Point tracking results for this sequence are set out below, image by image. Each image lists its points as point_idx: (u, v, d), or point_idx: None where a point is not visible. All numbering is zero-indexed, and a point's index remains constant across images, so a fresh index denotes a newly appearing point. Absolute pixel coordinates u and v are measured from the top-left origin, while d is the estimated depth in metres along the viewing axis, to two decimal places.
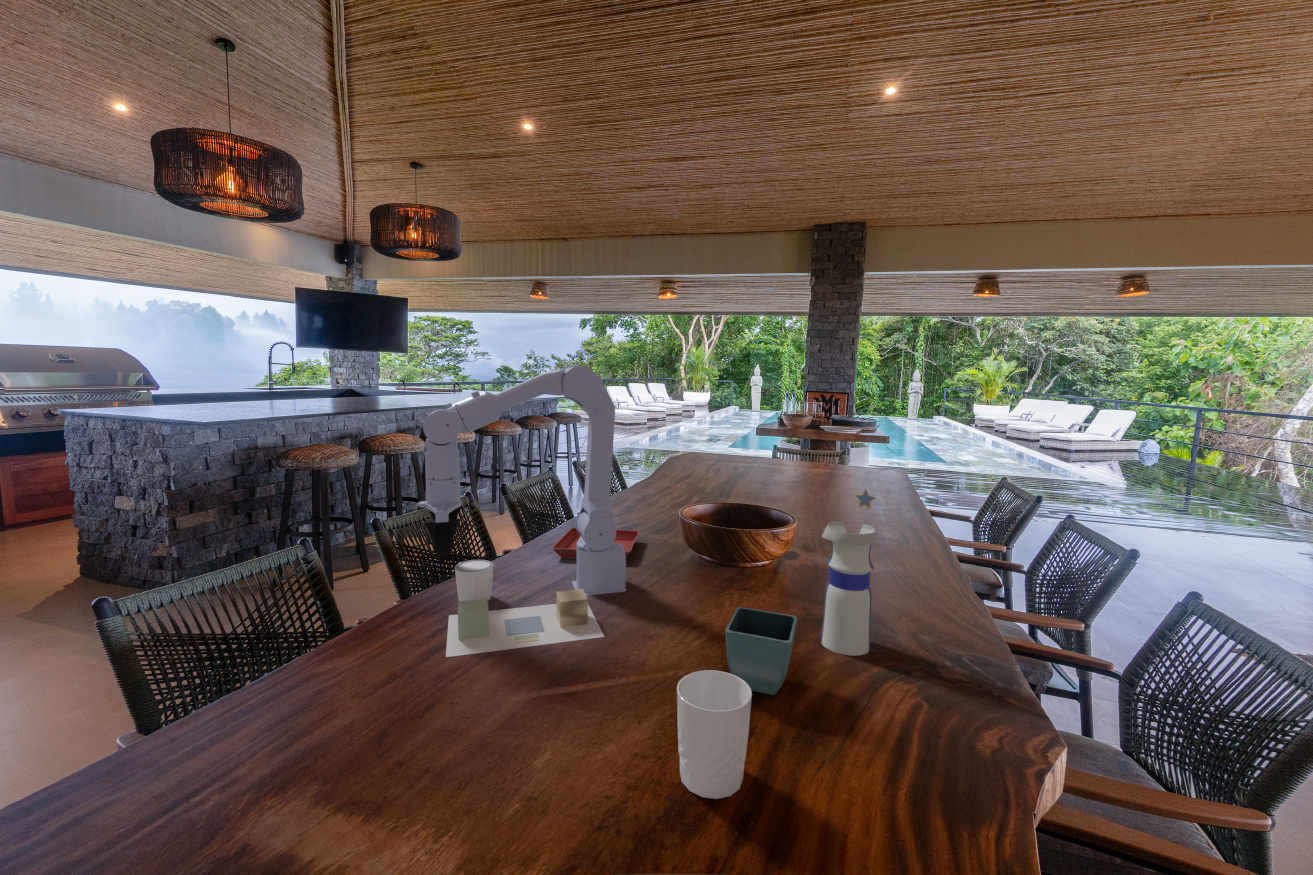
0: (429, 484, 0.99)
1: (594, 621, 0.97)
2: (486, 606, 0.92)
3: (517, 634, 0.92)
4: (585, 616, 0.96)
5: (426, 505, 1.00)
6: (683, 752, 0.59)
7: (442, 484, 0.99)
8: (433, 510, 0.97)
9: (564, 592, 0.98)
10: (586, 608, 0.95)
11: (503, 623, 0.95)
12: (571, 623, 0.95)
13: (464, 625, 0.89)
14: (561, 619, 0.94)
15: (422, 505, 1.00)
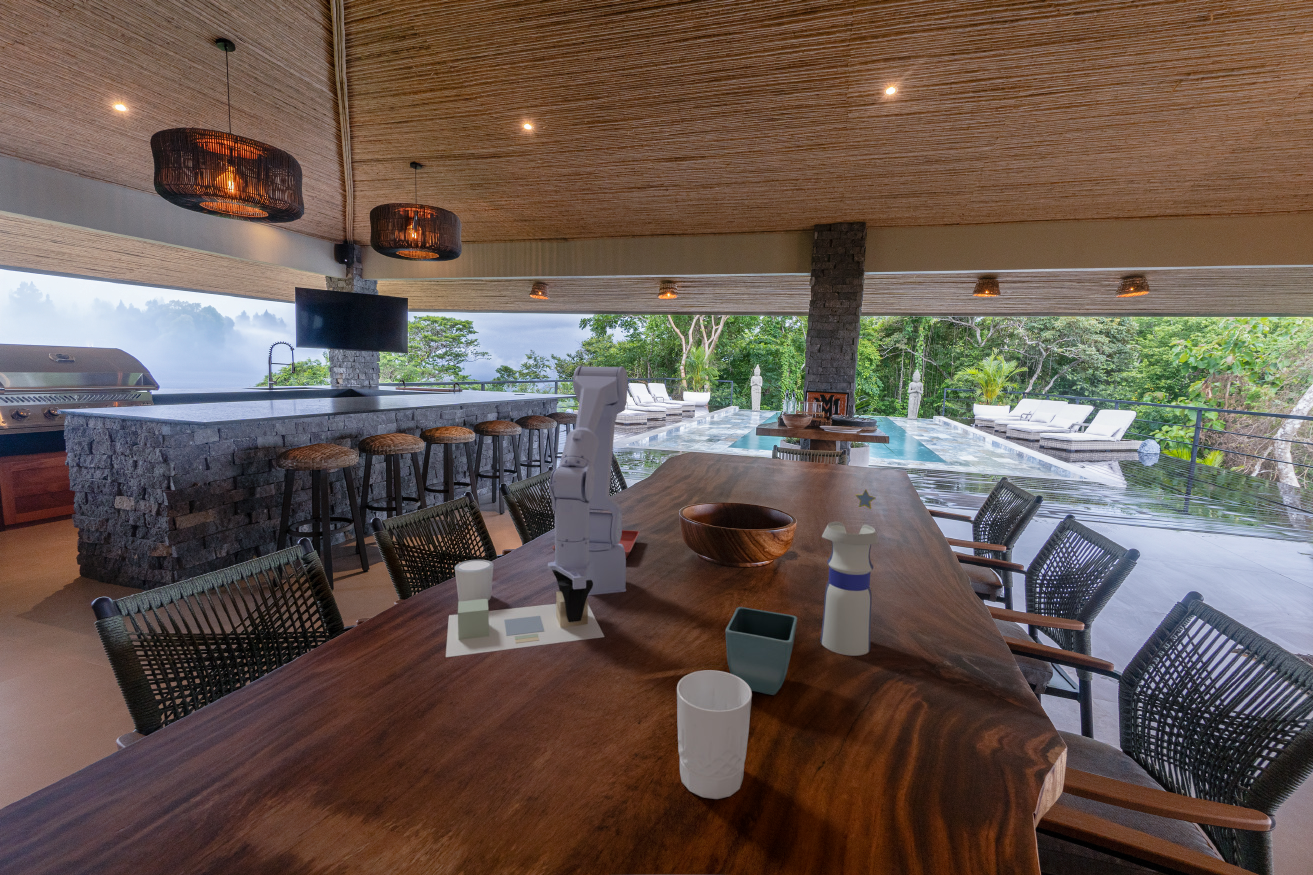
0: (560, 546, 0.93)
1: (594, 621, 0.97)
2: (486, 606, 0.92)
3: (517, 634, 0.92)
4: (585, 616, 0.96)
5: (556, 567, 0.94)
6: (683, 752, 0.59)
7: (575, 546, 0.93)
8: (568, 575, 0.91)
9: None
10: (586, 608, 0.95)
11: (503, 623, 0.95)
12: (571, 623, 0.95)
13: (464, 625, 0.89)
14: (561, 619, 0.94)
15: (552, 567, 0.94)
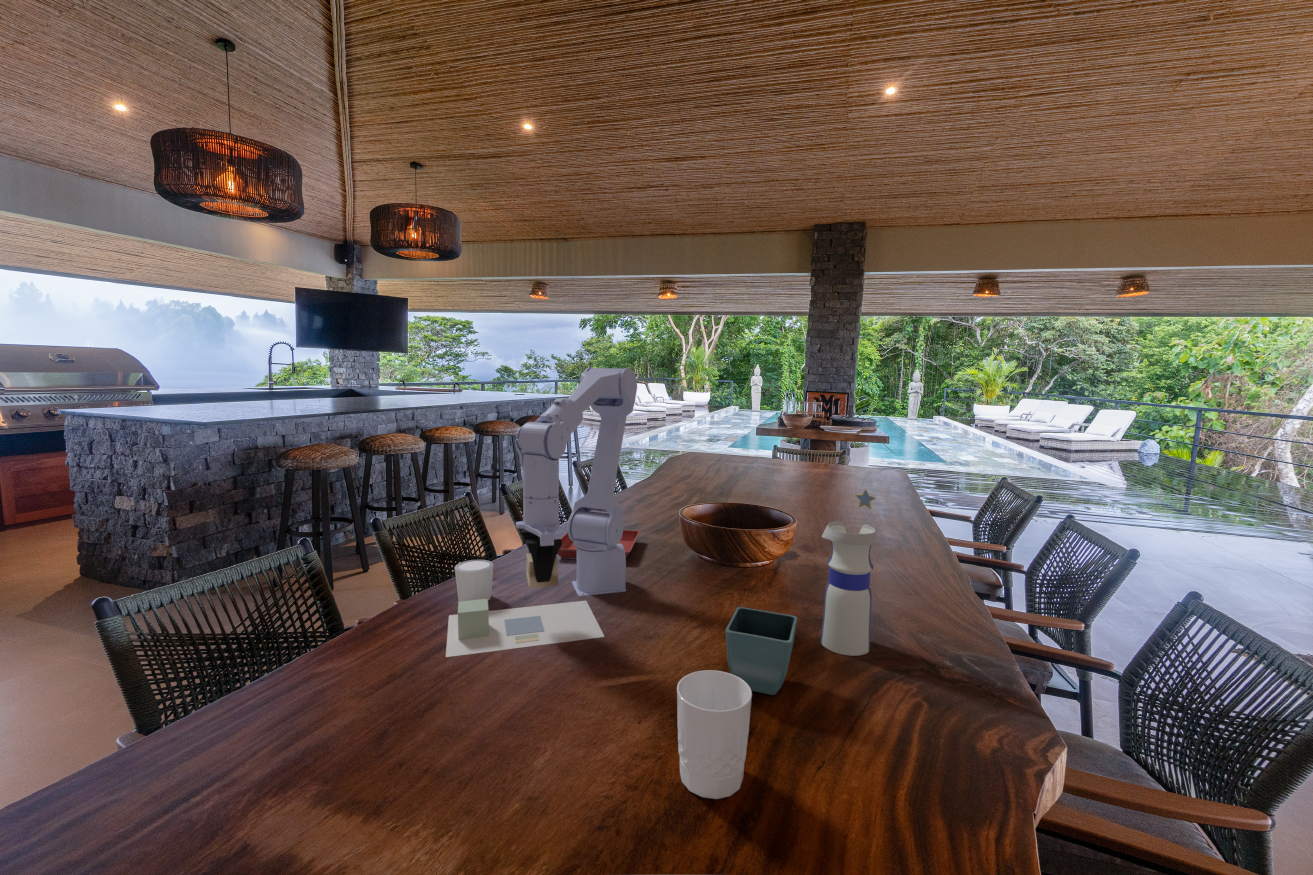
0: (529, 503, 0.91)
1: (594, 621, 0.97)
2: (486, 606, 0.92)
3: (517, 634, 0.92)
4: (555, 577, 0.93)
5: (525, 526, 0.91)
6: (683, 752, 0.59)
7: (543, 503, 0.91)
8: (536, 532, 0.88)
9: None
10: (556, 569, 0.93)
11: (503, 623, 0.95)
12: (541, 584, 0.92)
13: (464, 625, 0.89)
14: (530, 580, 0.92)
15: (520, 526, 0.92)
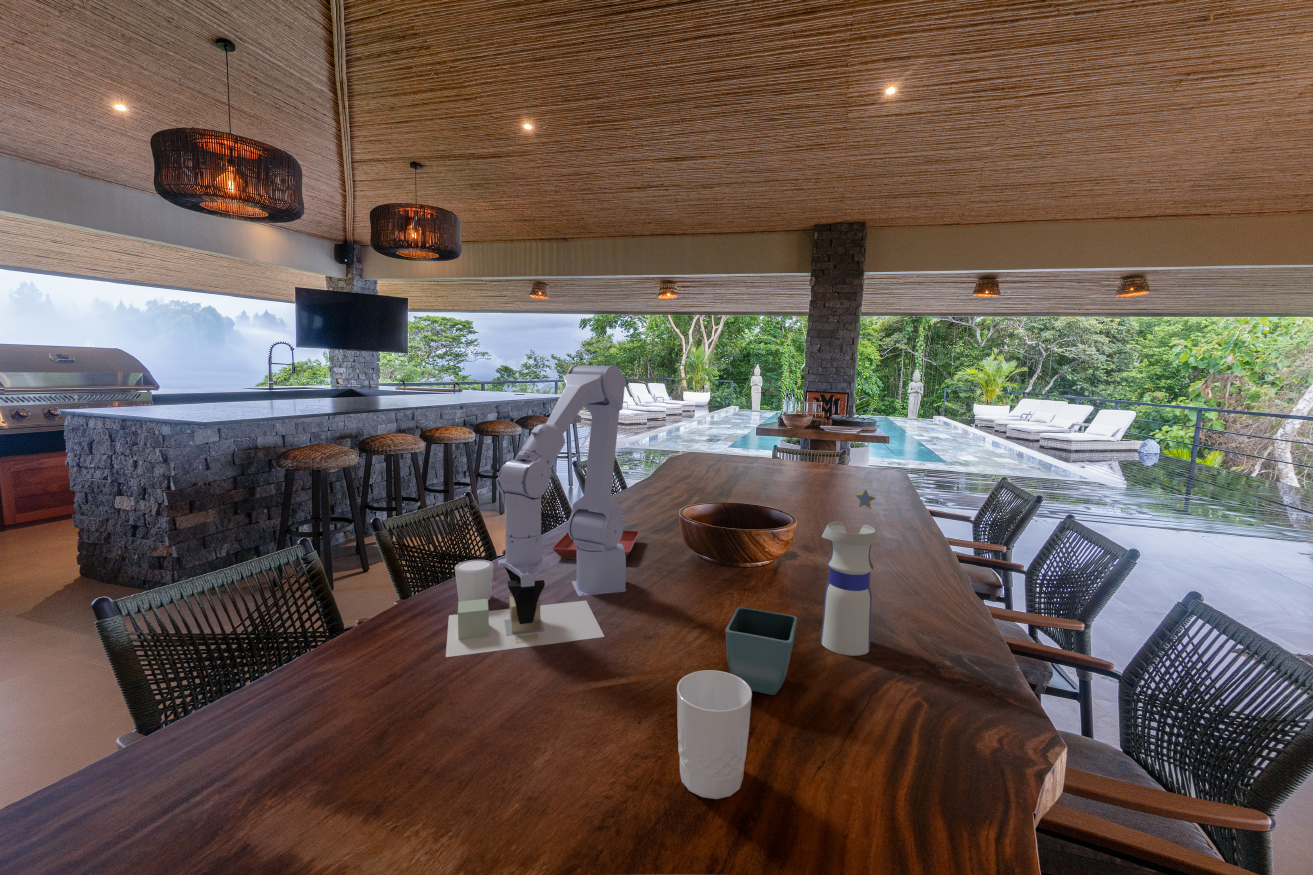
0: (510, 542, 0.91)
1: (594, 621, 0.97)
2: (486, 606, 0.92)
3: (517, 634, 0.92)
4: (537, 621, 0.93)
5: (506, 565, 0.91)
6: (683, 752, 0.59)
7: (525, 542, 0.90)
8: (517, 572, 0.88)
9: None
10: (538, 613, 0.93)
11: (503, 623, 0.95)
12: (523, 628, 0.93)
13: (464, 625, 0.89)
14: (512, 624, 0.92)
15: (502, 564, 0.91)
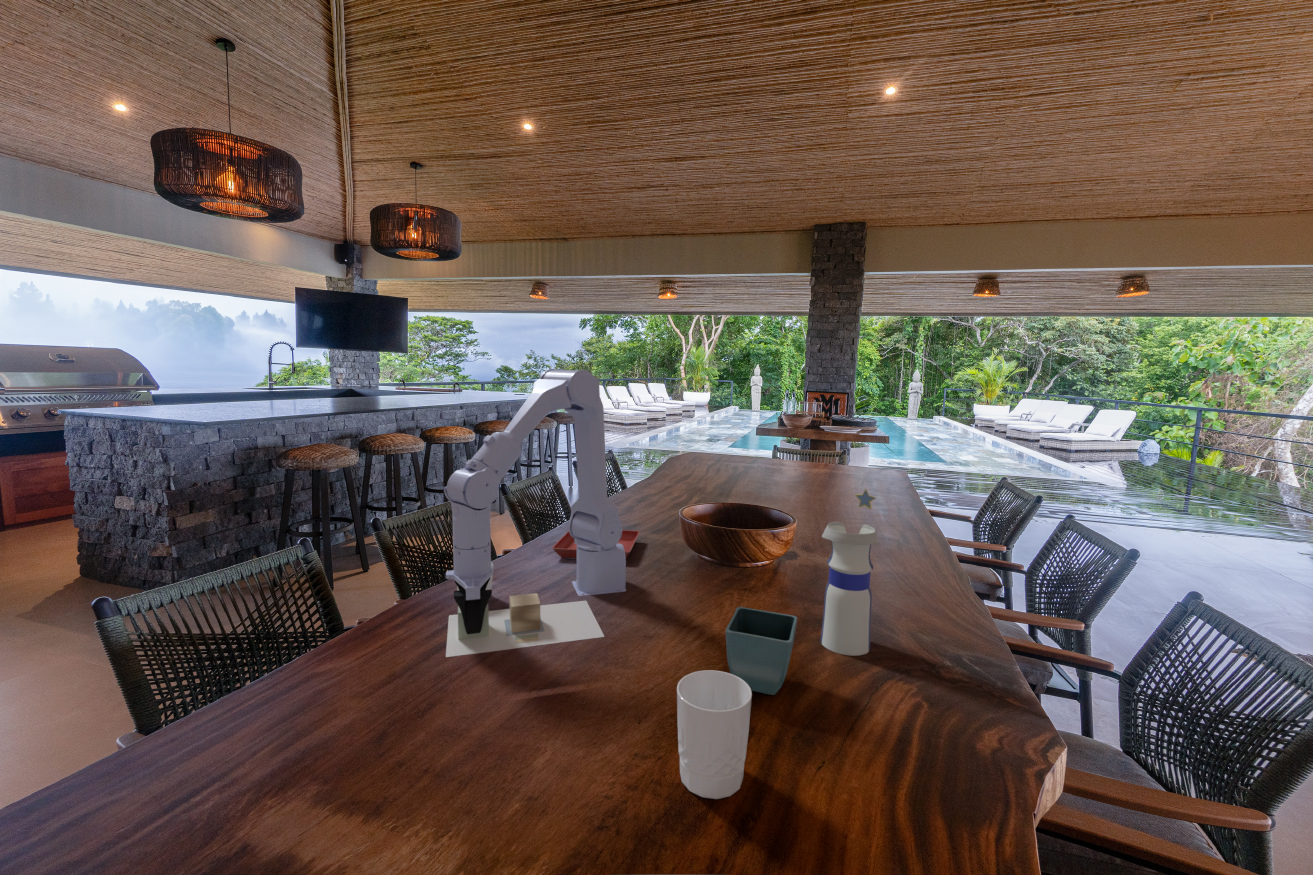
0: (457, 553, 0.88)
1: (594, 621, 0.97)
2: (486, 606, 0.92)
3: (517, 634, 0.92)
4: (537, 621, 0.93)
5: (454, 576, 0.89)
6: (683, 752, 0.59)
7: (472, 554, 0.88)
8: (463, 585, 0.86)
9: (517, 596, 0.96)
10: (538, 613, 0.93)
11: (503, 623, 0.95)
12: (523, 628, 0.93)
13: None
14: (512, 624, 0.92)
15: (449, 576, 0.89)
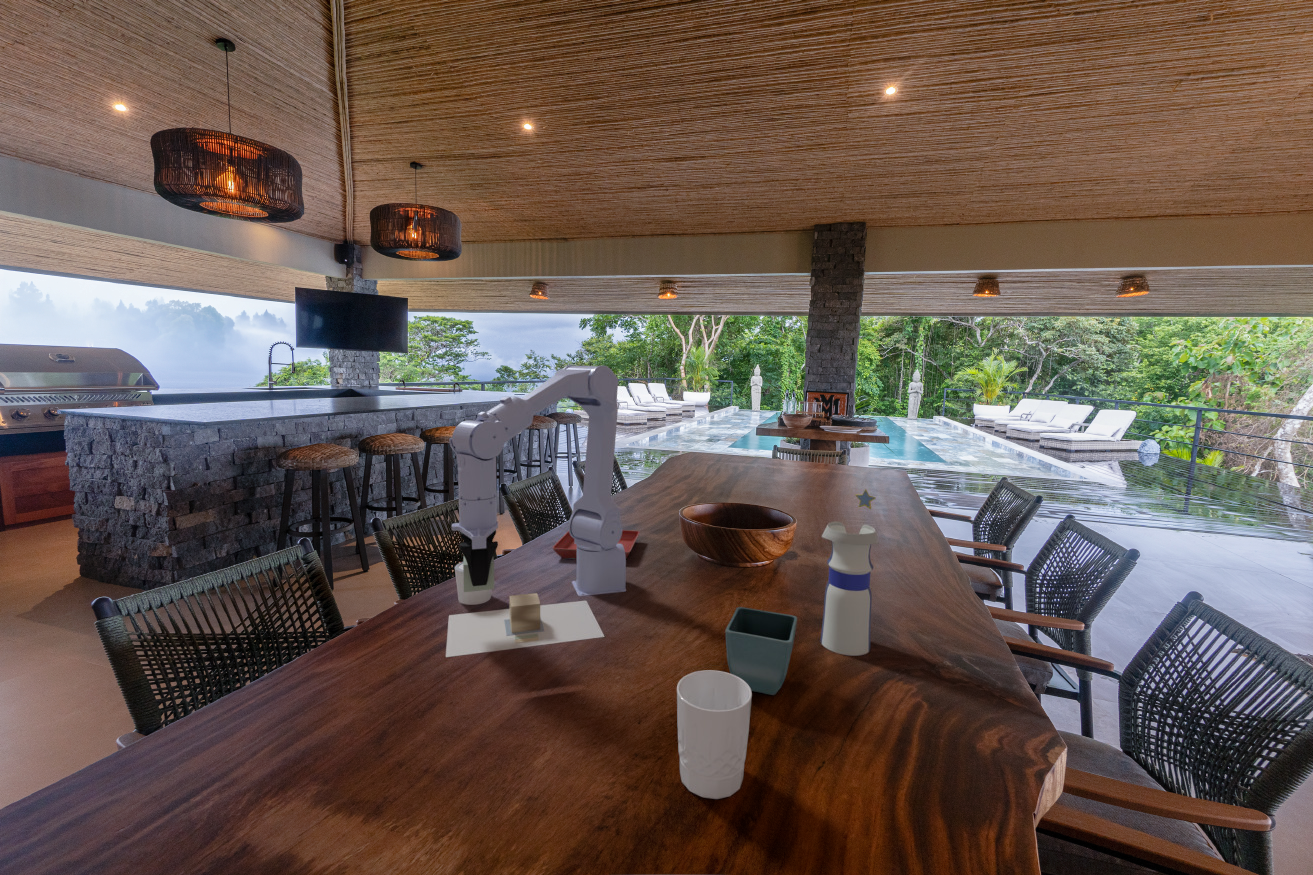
0: (463, 505, 0.88)
1: (594, 621, 0.97)
2: None
3: (517, 634, 0.92)
4: (537, 621, 0.93)
5: (459, 528, 0.88)
6: (683, 752, 0.59)
7: (478, 505, 0.87)
8: (469, 535, 0.85)
9: (517, 596, 0.96)
10: (538, 613, 0.93)
11: (503, 623, 0.95)
12: (523, 628, 0.93)
13: (470, 578, 0.89)
14: (512, 624, 0.92)
15: (455, 528, 0.89)
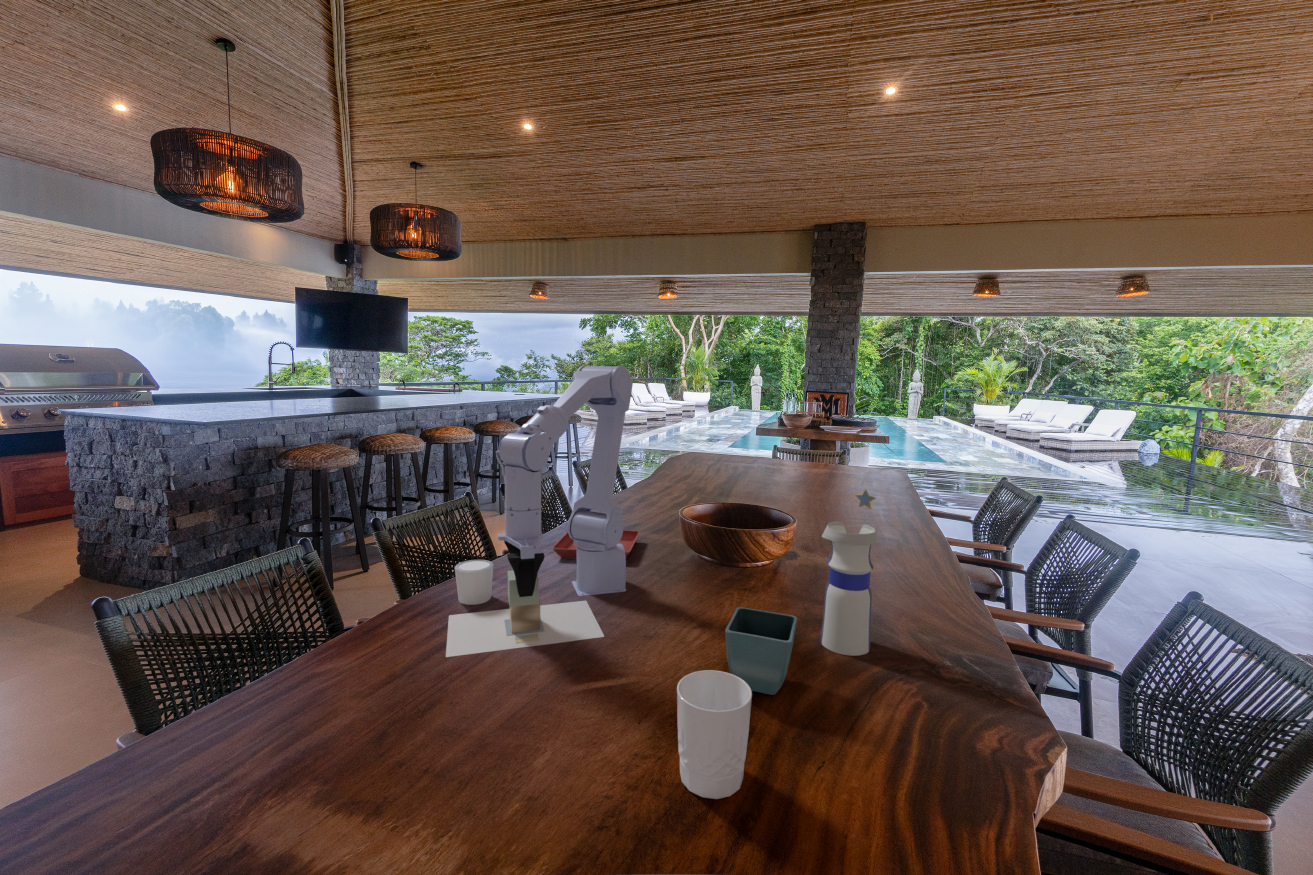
0: (510, 515, 0.90)
1: (594, 621, 0.97)
2: None
3: (517, 634, 0.92)
4: (537, 621, 0.93)
5: (506, 538, 0.91)
6: (683, 752, 0.59)
7: (525, 515, 0.90)
8: (517, 545, 0.88)
9: None
10: (538, 613, 0.93)
11: (503, 623, 0.95)
12: (523, 628, 0.93)
13: (515, 593, 0.91)
14: (512, 624, 0.92)
15: (502, 538, 0.91)
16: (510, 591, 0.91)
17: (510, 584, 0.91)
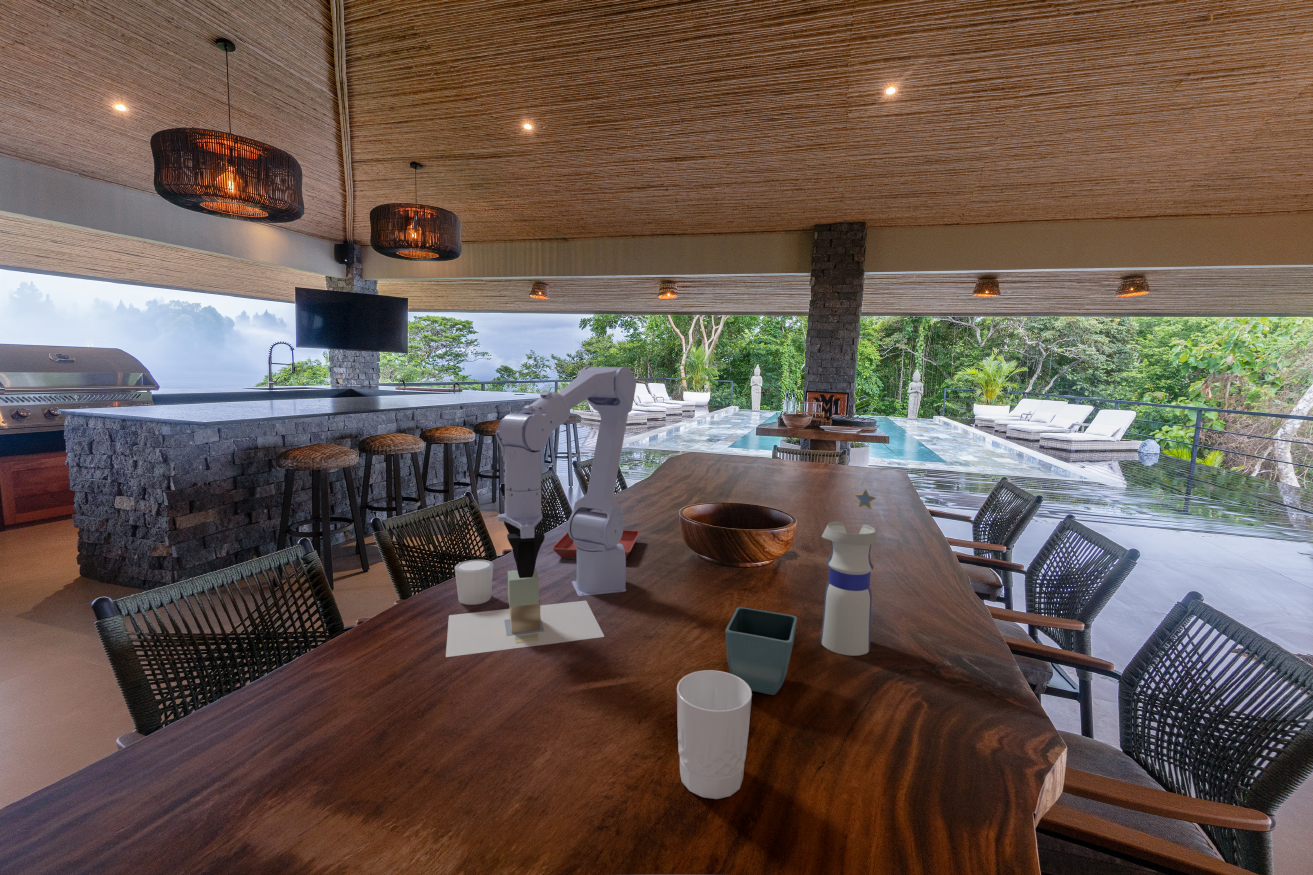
0: (510, 495, 0.90)
1: (594, 621, 0.97)
2: (535, 575, 0.94)
3: (517, 634, 0.92)
4: (537, 621, 0.93)
5: (506, 518, 0.90)
6: (683, 752, 0.59)
7: (524, 495, 0.90)
8: (516, 524, 0.87)
9: None
10: (538, 613, 0.93)
11: (503, 623, 0.95)
12: (523, 628, 0.93)
13: (515, 593, 0.91)
14: (512, 624, 0.92)
15: (501, 518, 0.91)
16: (510, 591, 0.91)
17: (510, 584, 0.91)
